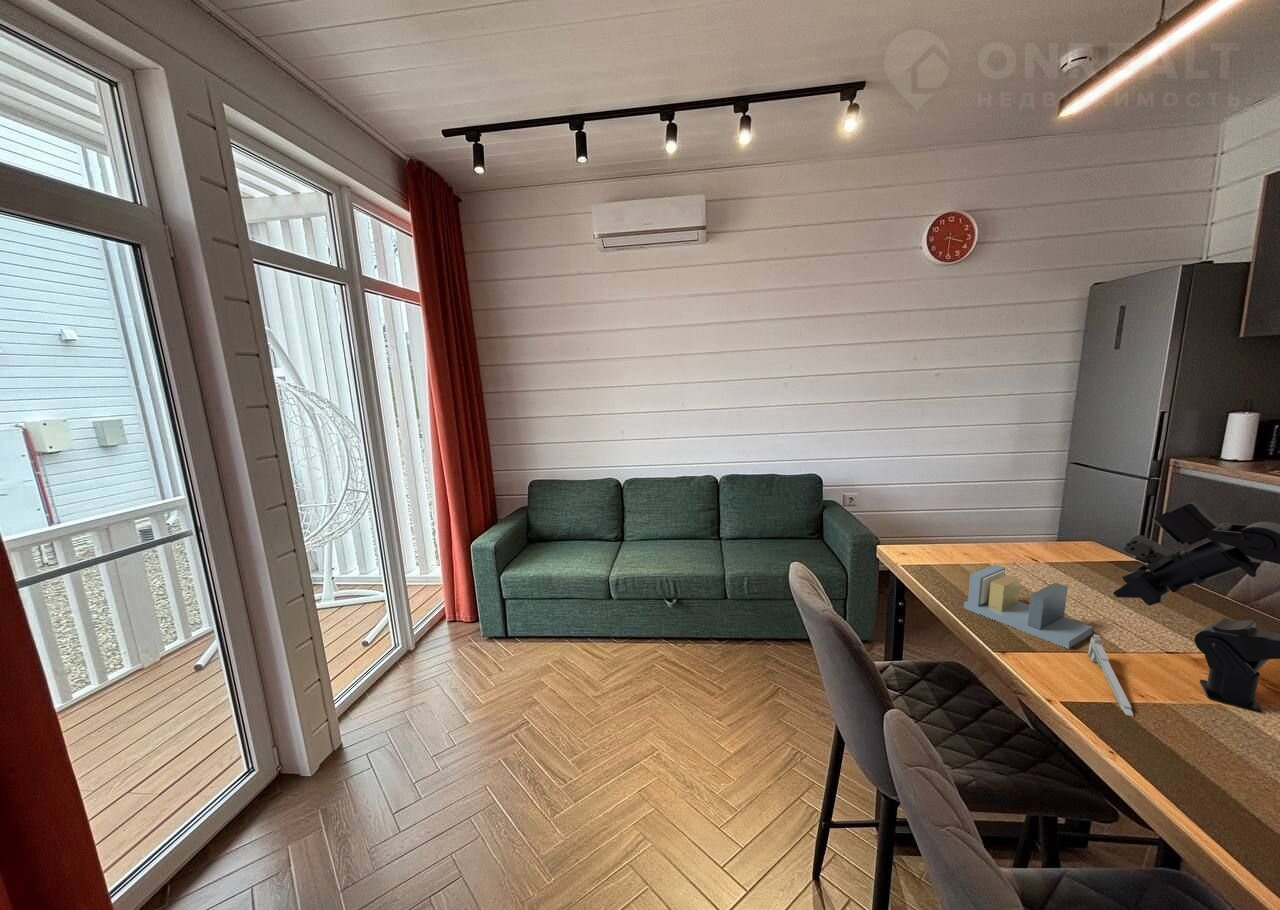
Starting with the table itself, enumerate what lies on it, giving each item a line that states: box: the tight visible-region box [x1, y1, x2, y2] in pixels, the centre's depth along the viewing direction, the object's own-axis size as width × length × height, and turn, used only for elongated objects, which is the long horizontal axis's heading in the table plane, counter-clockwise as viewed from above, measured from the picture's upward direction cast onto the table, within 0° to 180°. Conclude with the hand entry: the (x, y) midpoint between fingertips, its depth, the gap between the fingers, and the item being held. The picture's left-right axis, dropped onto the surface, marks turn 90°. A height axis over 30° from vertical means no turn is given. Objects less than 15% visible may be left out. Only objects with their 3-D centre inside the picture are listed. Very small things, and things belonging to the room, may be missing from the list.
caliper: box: [1087, 634, 1134, 717], centre depth 94 cm, size 20×1×6 cm, turn 151°
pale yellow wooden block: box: [988, 574, 1021, 612], centre depth 121 cm, size 3×8×7 cm, turn 118°
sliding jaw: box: [1028, 582, 1068, 629], centre depth 113 cm, size 3×12×8 cm, turn 118°
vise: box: [963, 564, 1093, 650], centre depth 117 cm, size 22×12×10 cm, turn 28°
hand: (1115, 594), depth 102 cm, fingers closed
